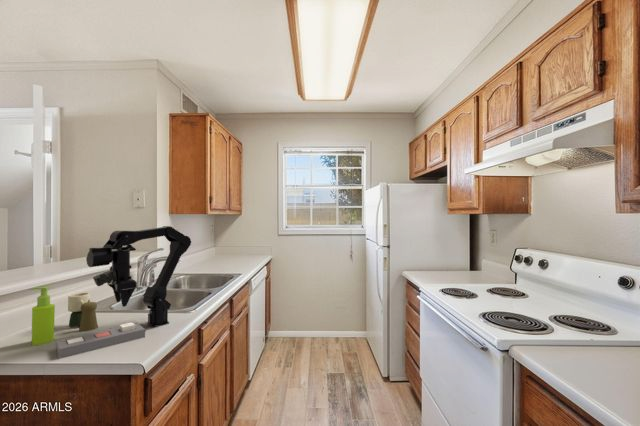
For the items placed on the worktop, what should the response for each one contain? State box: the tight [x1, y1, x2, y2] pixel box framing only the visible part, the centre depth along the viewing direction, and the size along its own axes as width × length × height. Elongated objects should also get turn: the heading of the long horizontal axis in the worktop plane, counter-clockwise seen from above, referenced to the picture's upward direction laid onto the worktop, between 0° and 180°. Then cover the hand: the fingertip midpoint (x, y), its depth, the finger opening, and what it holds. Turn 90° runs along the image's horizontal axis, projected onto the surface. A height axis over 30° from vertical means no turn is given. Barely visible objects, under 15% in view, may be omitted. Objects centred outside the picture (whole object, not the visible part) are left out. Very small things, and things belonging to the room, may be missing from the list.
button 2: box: [119, 322, 135, 332], centre depth 111 cm, size 4×4×3 cm
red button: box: [95, 332, 111, 338], centre depth 105 cm, size 4×4×3 cm
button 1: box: [67, 337, 84, 345], centre depth 100 cm, size 4×4×3 cm
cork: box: [78, 301, 99, 332], centre depth 119 cm, size 6×6×11 cm
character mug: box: [67, 292, 91, 328], centre depth 124 cm, size 11×7×13 cm, turn 51°
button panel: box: [55, 322, 146, 360], centre depth 105 cm, size 24×10×4 cm, turn 136°
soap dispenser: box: [29, 286, 56, 346], centre depth 107 cm, size 6×7×20 cm
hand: (121, 304), depth 115 cm, fingers open, 9 cm apart
